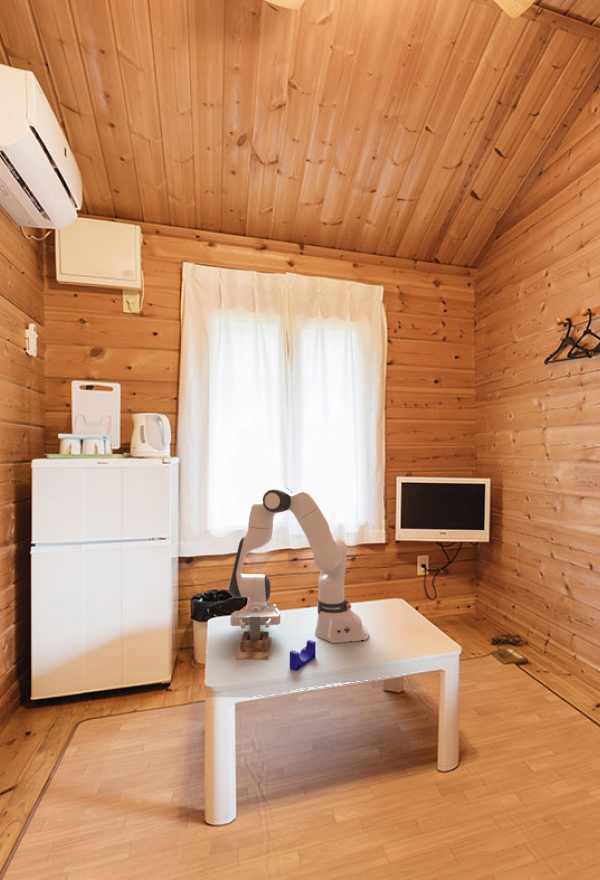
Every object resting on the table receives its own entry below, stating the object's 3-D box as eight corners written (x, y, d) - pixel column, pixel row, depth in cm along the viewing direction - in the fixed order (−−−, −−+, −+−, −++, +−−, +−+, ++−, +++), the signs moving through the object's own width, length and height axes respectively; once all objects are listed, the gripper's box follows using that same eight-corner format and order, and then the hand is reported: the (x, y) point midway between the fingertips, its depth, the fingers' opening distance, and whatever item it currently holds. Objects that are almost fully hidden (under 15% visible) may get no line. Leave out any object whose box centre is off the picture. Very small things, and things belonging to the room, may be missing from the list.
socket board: (271, 639, 166) (271, 628, 166) (268, 658, 150) (268, 646, 150) (242, 639, 166) (242, 628, 166) (236, 658, 150) (236, 646, 150)
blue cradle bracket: (305, 654, 153) (305, 638, 153) (315, 658, 151) (315, 641, 151) (286, 667, 144) (286, 650, 144) (296, 671, 141) (296, 654, 141)
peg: (260, 643, 160) (260, 612, 160) (260, 648, 156) (260, 616, 156) (250, 643, 160) (250, 612, 160) (249, 648, 156) (250, 616, 156)
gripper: (231, 605, 170) (228, 618, 157) (279, 604, 172) (280, 617, 158) (231, 620, 170) (228, 635, 156) (279, 619, 172) (280, 633, 158)
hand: (255, 626), depth 157 cm, fingers open, 8 cm apart
